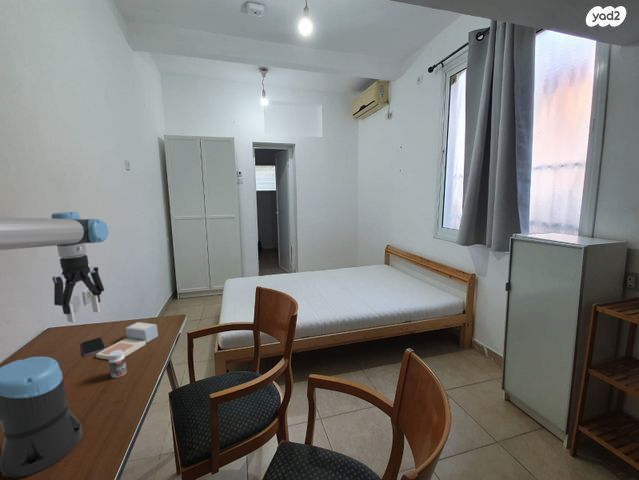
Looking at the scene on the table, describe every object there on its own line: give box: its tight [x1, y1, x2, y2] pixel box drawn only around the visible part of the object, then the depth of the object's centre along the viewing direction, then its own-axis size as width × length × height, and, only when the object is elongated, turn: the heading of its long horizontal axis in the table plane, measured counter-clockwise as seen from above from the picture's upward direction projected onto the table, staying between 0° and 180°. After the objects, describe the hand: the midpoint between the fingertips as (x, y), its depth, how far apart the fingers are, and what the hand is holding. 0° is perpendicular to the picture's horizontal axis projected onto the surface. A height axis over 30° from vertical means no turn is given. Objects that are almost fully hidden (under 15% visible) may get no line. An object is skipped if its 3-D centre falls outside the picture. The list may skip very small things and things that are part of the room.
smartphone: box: [80, 337, 106, 357], centre depth 124 cm, size 7×1×15 cm
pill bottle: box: [108, 350, 128, 379], centre depth 104 cm, size 5×5×8 cm
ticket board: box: [95, 337, 147, 361], centre depth 120 cm, size 13×11×2 cm
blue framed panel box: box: [125, 321, 159, 344], centre depth 129 cm, size 6×11×6 cm, turn 73°
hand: (84, 316), depth 106 cm, fingers open, 8 cm apart
